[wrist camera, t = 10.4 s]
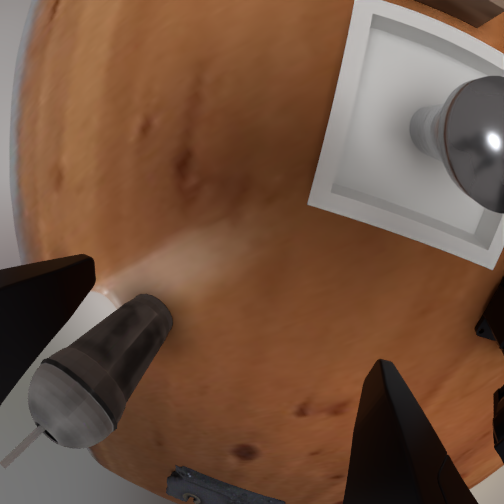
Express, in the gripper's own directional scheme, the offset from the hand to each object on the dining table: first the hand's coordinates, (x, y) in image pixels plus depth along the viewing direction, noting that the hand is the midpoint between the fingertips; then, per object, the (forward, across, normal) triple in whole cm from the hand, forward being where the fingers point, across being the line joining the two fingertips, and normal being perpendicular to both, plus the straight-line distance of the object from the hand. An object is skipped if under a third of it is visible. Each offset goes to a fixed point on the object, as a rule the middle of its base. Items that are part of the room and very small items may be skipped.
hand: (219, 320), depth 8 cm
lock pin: (+12, -7, -7) cm, 16 cm away
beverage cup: (+13, +10, +14) cm, 22 cm away
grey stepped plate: (+14, -3, +56) cm, 57 cm away
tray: (+13, -7, -7) cm, 16 cm away
